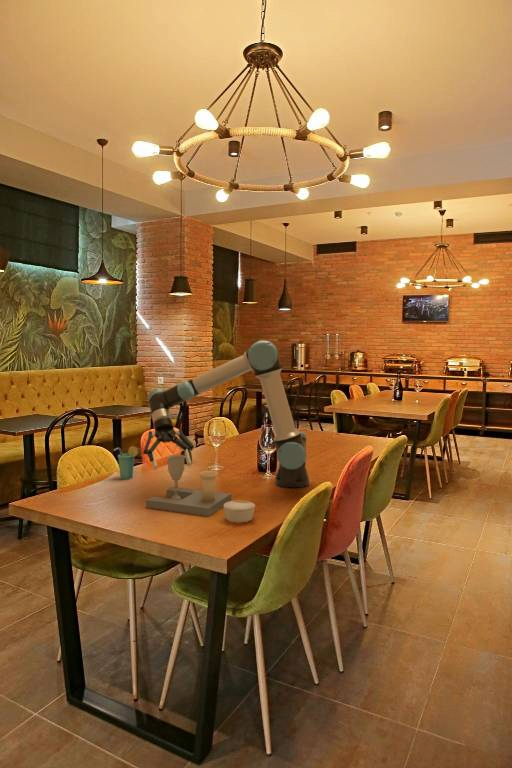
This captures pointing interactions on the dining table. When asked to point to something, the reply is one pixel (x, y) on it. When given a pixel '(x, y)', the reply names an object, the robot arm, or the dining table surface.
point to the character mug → (184, 450)
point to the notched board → (193, 498)
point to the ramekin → (239, 511)
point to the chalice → (176, 470)
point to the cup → (127, 462)
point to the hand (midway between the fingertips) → (172, 466)
